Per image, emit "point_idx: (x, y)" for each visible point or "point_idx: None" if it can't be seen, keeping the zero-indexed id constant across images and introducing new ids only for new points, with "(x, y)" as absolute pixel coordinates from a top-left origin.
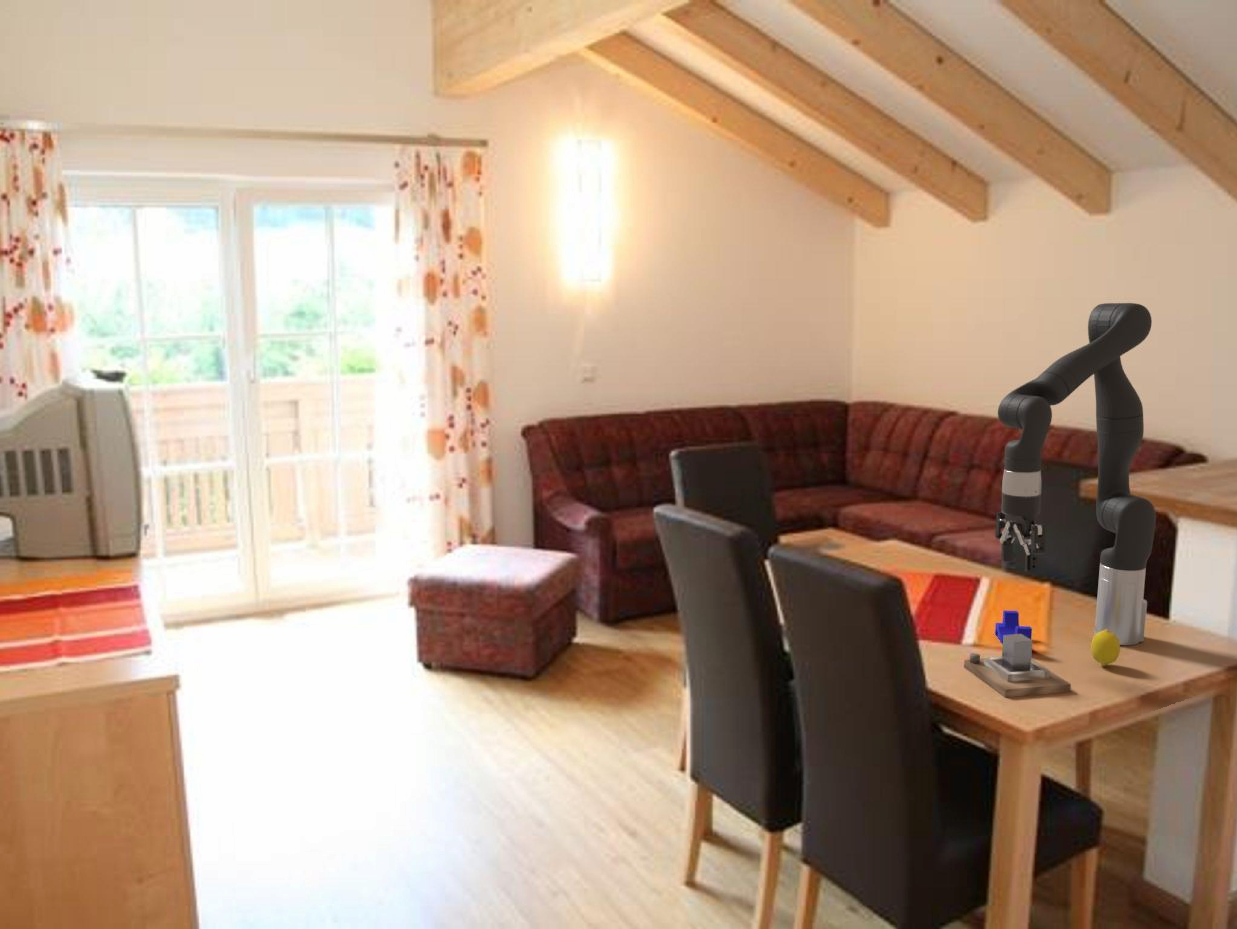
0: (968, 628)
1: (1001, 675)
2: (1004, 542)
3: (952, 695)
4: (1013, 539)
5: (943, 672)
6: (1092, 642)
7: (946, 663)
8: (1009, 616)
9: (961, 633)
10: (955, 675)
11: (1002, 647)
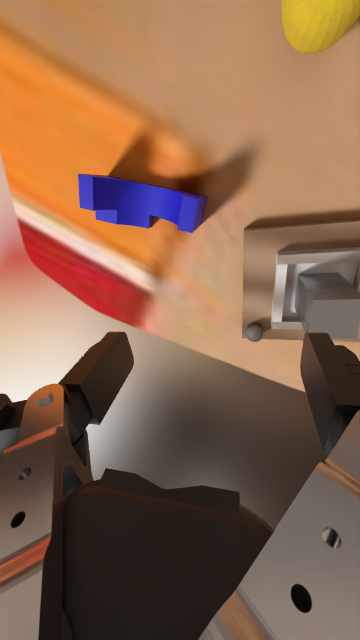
0: (82, 249)
1: None
2: (84, 430)
3: None
4: (66, 413)
5: (254, 363)
6: (313, 37)
7: (223, 345)
8: (97, 199)
9: (106, 270)
10: (268, 355)
11: (301, 324)
